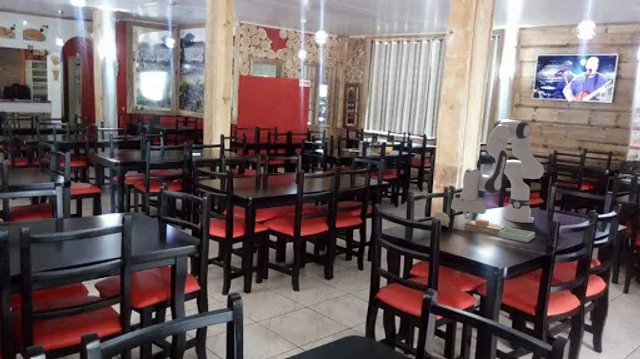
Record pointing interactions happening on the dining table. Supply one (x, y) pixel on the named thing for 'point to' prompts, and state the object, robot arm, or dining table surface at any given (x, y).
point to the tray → (516, 234)
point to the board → (484, 228)
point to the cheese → (442, 218)
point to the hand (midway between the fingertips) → (467, 219)
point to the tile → (482, 222)
